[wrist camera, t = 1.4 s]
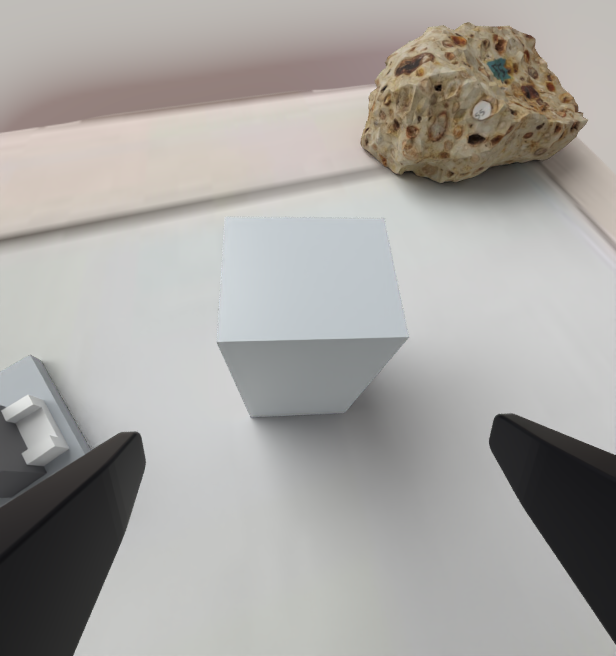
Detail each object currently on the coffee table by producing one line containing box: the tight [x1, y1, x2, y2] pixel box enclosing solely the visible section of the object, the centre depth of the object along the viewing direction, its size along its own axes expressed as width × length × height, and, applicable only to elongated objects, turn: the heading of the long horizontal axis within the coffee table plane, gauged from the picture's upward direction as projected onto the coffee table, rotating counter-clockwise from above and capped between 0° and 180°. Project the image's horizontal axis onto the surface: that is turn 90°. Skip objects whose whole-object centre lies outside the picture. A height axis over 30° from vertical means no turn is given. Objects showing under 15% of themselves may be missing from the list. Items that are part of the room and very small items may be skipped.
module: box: [217, 217, 409, 417], centre depth 17 cm, size 6×6×12 cm
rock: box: [360, 22, 588, 183], centre depth 31 cm, size 21×14×10 cm
